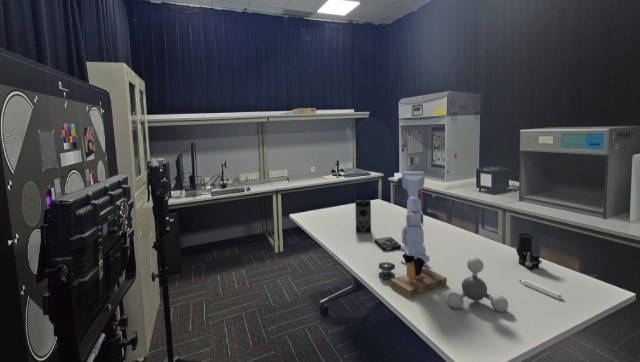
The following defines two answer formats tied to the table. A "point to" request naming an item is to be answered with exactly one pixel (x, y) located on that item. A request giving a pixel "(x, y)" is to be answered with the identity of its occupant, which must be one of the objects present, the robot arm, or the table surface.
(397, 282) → the notched board
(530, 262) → the scope
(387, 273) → the bobbin
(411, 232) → the robot arm
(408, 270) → the orange rectangular block
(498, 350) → the table surface
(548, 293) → the marker
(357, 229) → the electronic device
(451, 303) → the molecule model
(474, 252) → the table surface
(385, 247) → the disk drive
